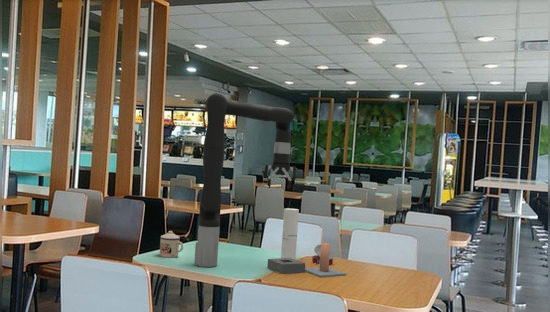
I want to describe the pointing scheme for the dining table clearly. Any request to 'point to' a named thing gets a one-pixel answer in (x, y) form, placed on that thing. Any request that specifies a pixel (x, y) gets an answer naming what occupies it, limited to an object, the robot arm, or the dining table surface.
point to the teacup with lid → (170, 245)
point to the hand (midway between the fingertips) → (278, 188)
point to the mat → (324, 274)
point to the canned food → (317, 257)
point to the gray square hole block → (286, 265)
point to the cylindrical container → (289, 233)
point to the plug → (324, 257)
